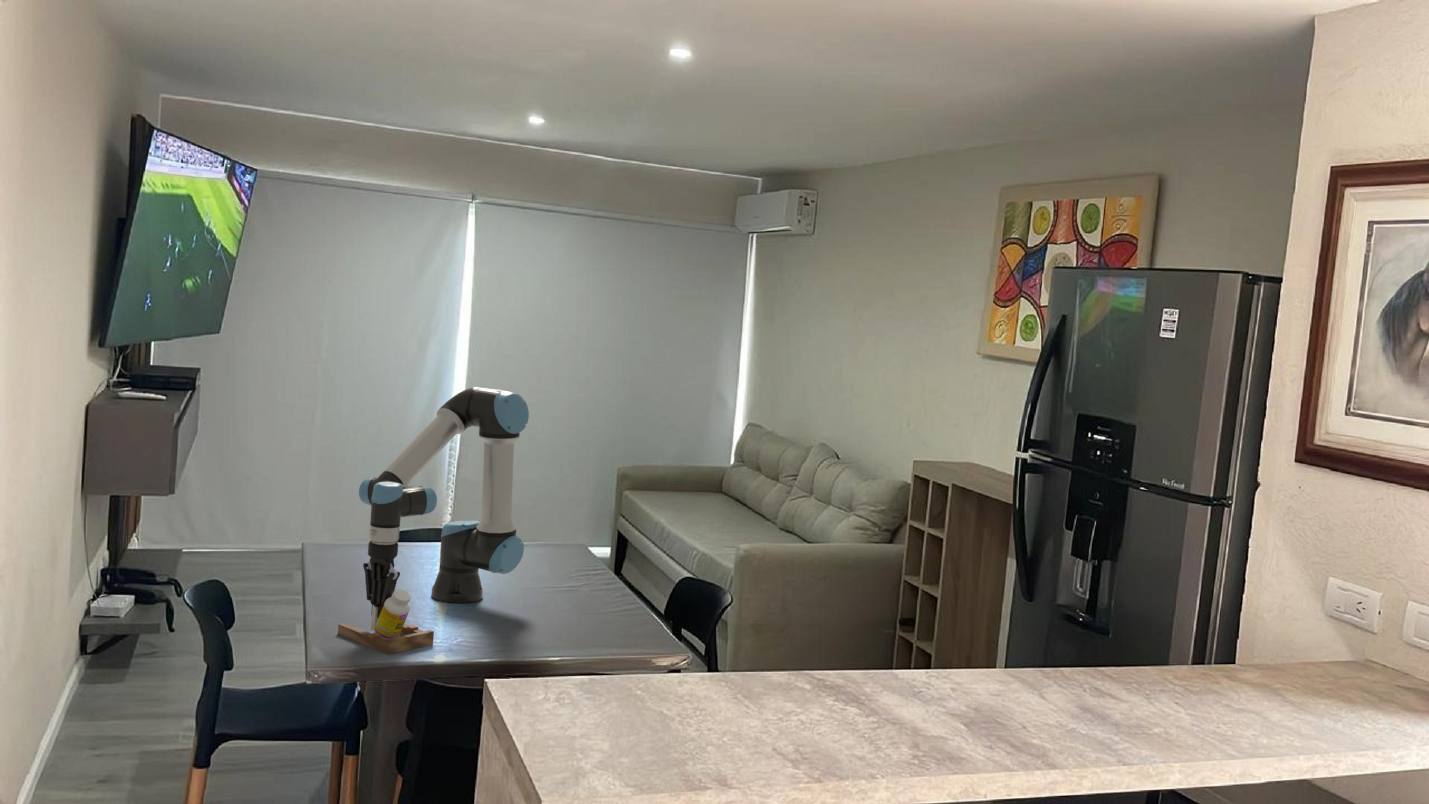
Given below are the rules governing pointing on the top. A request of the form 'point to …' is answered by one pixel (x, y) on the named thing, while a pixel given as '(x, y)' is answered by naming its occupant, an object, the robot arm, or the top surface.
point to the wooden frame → (406, 641)
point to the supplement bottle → (393, 615)
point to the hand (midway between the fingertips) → (376, 629)
